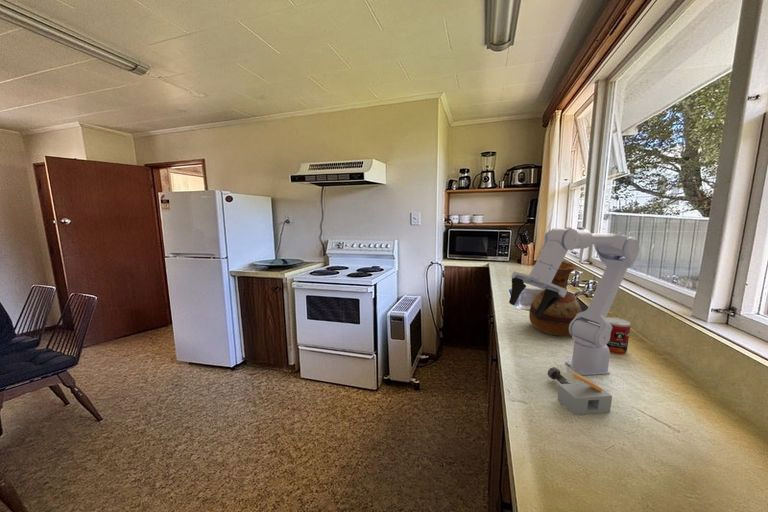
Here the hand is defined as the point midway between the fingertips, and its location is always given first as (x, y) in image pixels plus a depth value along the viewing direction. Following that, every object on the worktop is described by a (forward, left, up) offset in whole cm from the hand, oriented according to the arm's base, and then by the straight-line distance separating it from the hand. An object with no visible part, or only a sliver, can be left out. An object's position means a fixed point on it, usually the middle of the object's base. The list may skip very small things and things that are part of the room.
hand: (523, 309), depth 81 cm
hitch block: (-13, +9, -24) cm, 28 cm away
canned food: (-49, -19, -24) cm, 57 cm away
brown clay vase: (-39, -38, -24) cm, 59 cm away
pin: (-13, +3, -23) cm, 26 cm away
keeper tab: (-12, +9, -17) cm, 23 cm away
